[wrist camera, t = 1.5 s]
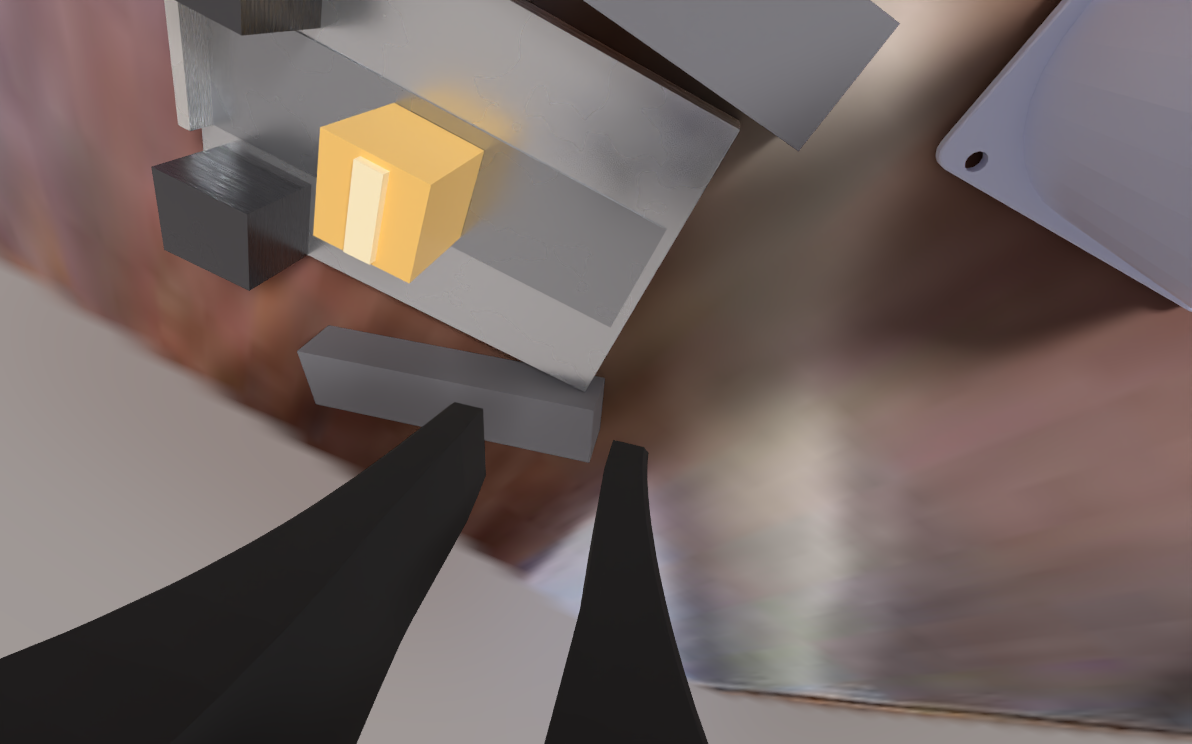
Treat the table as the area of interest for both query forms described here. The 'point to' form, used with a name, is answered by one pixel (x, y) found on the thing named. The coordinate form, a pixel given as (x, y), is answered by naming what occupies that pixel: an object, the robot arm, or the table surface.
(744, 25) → the duct
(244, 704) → the robot arm
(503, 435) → the duct
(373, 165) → the orange l block
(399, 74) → the panel
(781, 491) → the table surface
